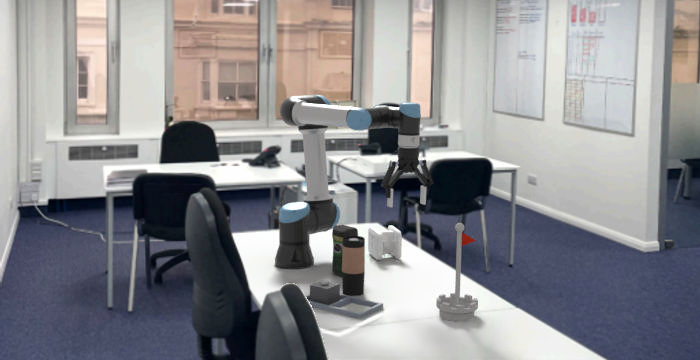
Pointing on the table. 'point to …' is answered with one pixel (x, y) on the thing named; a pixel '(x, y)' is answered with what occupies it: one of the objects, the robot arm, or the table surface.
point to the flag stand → (458, 289)
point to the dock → (349, 306)
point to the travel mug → (353, 265)
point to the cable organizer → (384, 242)
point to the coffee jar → (340, 245)
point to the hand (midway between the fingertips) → (406, 205)
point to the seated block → (325, 292)
